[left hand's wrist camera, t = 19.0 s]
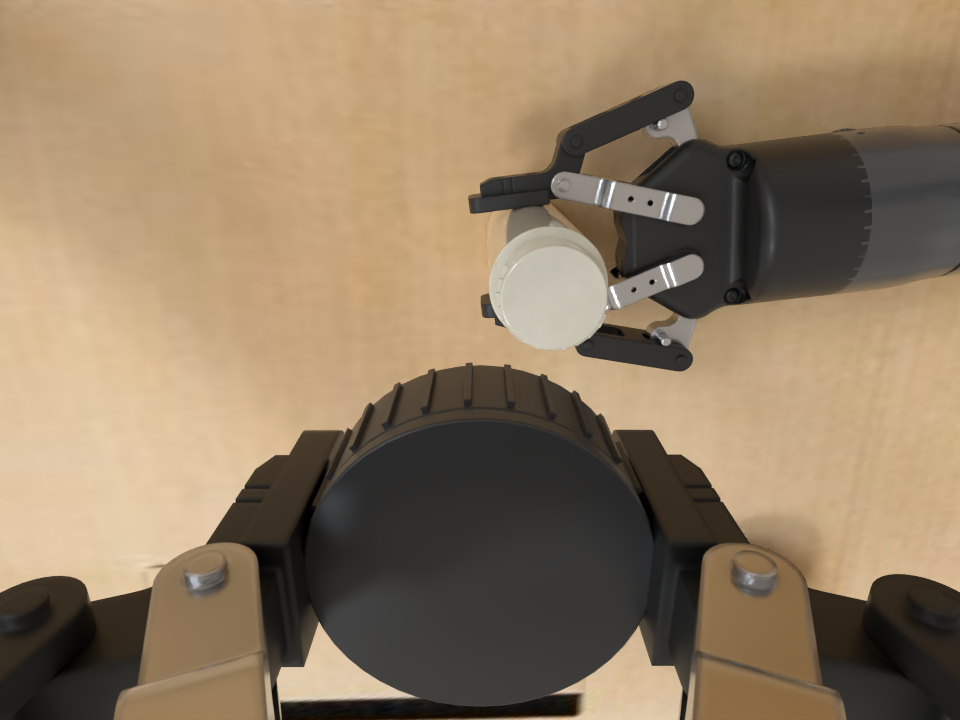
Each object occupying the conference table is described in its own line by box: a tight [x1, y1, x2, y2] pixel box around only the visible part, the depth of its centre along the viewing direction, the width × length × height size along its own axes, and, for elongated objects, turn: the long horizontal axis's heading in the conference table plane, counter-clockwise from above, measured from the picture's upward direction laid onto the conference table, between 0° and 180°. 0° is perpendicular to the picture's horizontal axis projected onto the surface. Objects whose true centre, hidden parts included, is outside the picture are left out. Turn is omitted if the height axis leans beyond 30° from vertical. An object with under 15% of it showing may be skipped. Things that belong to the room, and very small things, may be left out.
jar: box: [487, 203, 608, 351], centre depth 28 cm, size 4×4×16 cm
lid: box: [304, 363, 654, 706], centre depth 10 cm, size 5×6×2 cm
